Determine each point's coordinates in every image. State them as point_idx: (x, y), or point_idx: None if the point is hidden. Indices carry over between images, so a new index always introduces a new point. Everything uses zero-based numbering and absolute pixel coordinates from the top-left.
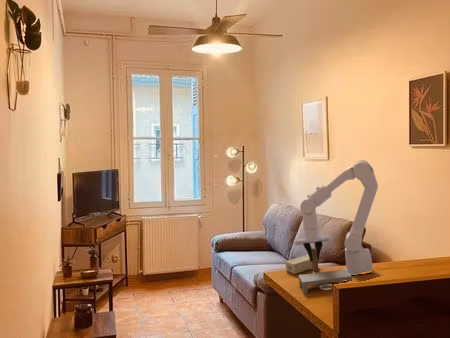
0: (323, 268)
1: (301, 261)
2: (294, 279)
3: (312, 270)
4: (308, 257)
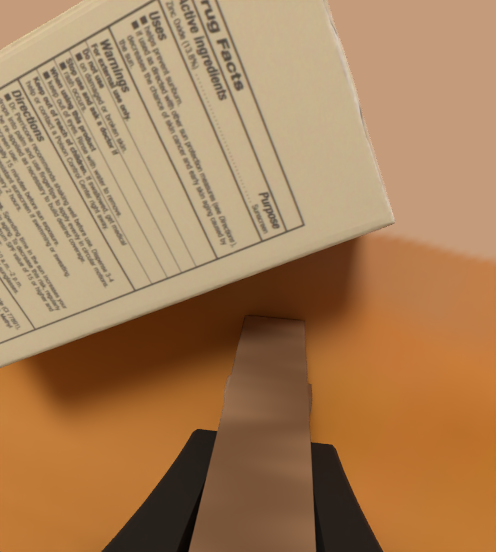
0: (409, 269)
1: (70, 324)
2: (31, 434)
3: (243, 328)
4: (233, 163)
